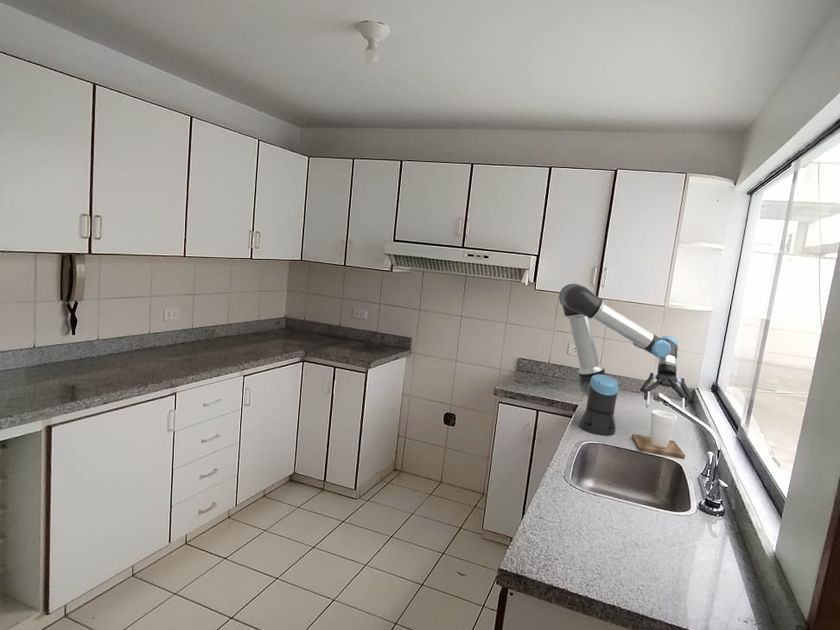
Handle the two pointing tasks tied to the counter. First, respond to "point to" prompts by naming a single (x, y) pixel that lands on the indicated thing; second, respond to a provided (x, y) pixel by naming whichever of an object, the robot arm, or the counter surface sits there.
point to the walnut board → (646, 446)
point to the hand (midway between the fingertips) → (664, 409)
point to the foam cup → (661, 427)
